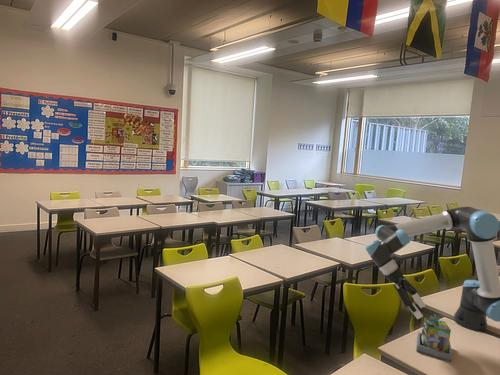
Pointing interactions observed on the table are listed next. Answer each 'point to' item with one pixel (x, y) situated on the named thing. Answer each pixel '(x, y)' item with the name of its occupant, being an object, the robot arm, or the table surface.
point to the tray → (433, 350)
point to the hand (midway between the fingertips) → (421, 312)
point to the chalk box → (435, 334)
